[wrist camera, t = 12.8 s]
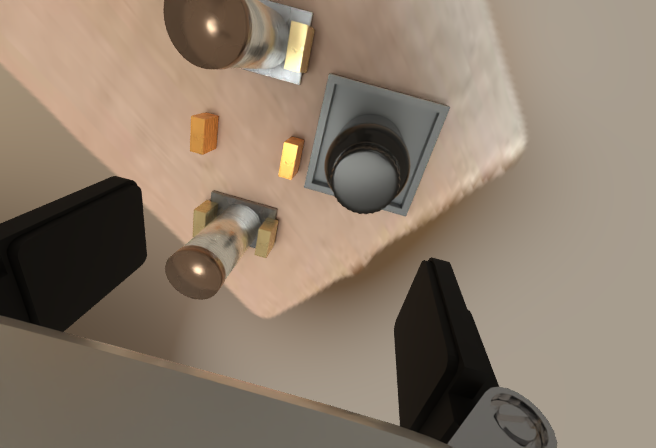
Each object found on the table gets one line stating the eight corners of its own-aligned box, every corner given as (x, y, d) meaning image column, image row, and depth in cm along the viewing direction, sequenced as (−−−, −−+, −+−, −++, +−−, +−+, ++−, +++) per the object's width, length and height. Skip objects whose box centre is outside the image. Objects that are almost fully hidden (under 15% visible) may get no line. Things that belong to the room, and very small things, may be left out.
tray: (331, 73, 30) (329, 73, 28) (446, 105, 30) (450, 107, 28) (307, 182, 35) (304, 187, 33) (404, 209, 35) (405, 216, 33)
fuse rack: (212, -14, 28) (114, -65, 18) (329, 18, 28) (300, -15, 17) (199, 229, 40) (136, 285, 30) (281, 252, 40) (246, 317, 29)
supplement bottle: (416, 155, 31) (435, 197, 21) (360, 190, 34) (352, 244, 23) (379, 96, 30) (380, 110, 19) (323, 138, 32) (295, 171, 21)
